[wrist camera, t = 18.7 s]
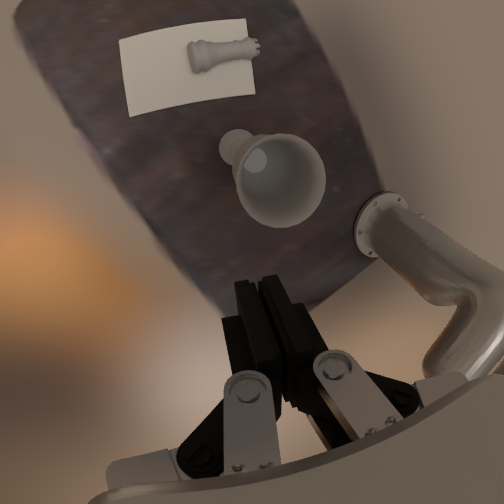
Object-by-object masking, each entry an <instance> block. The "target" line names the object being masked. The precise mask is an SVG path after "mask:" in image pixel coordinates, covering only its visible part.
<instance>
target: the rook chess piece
mask: <svg viewBox="0 0 504 504" xmlns="http://www.w3.org/2000/svg"><path fill="white" fill-rule="evenodd" d="M255 42H258V40H257V39H255V38H253V39H251V38H250V37H245V38H244V39H243V40H241V41H237V40H234V41H231V42H217V43H216V42H210V41H208V42H206V41H205V40H198V41H197V42H196V43H195V42H193V41H191V42H190V43H188V45H187V52H188V59H189V63H190V67H191V69H192V71H193V72H194V73H196V74H199V72H200V71H201V70H202V71H204V72H206V71H208V70H209V69H210V68H211V67H214V66H215V65H216V64H219V63H221V62H225V61H228V60H233V59H237V60H239V59H240V58H247V59H249V60H251V59H253V58H254V57H257V56H259V55H258V54H260V50H256V47H260V45H259V44H255Z"/></svg>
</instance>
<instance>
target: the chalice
mask: <svg viewBox="0 0 504 504" xmlns="http://www.w3.org/2000/svg"><path fill="white" fill-rule="evenodd" d="M219 152H220V155H221V157H222V159H223V160H224V161H225V162H226V163H228V164H229V165H232V174H233V177H234V180H235V183H236V184H237V193H238V196H239V199H240V202H241V204H242V206H243V207H244V208H245V210H246V211H247V213H248V214H249V215H250V216H251V217H252V218H254V219H255V220H256V221H258V222H259V223H261V224H263V225H267V226H270V227H273V228H288V227H290V226H293V225H296V224H299V223H301V222H303V221H304V220H305V219H307V218H308V217H309V216H311V215H312V213H313V212H314V211H315V210H316V208H317V207H318V206H319V204H320V202H321V199H322V197H323V194H324V192H325V182H326V175H325V170H324V164H323V162H322V160H321V158H320V156H319V154H318V152H317V151H316V150H315V149H314V148H313V147H312V146H311V145H310V144H309V143H308V142H307V141H305V140H303V139H301V138H299V137H297V136H295V135H290V134H280V133H278V134H274V135H266V134H260V135H256V136H253V135H252V134H250V133H249V132H248V131H245V130H242V129H235V130H231V131H229V132H228V133H226V134H225V135H224V136H223V137H222V139H221V141H220V144H219Z"/></svg>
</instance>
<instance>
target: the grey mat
mask: <svg viewBox="0 0 504 504" xmlns="http://www.w3.org/2000/svg"><path fill="white" fill-rule="evenodd" d="M245 37H248V33H247V26H246V19H232V20H219V21H210V22H201V23H194V24H187V25H181V26H176V27H170V28H165V29H160V30H156V31H151V32H147V33H143V34H139V35H135V36H132V37H128V38H125V39H121V40H119V45H120V55H121V63H122V71H123V79H124V86H125V92H126V99H127V105H128V111H129V117H133V116H136V115H140V114H144V113H148V112H152V111H156V110H160V109H164V108H169V107H174V106H178V105H183V104H188V103H194V102H199V101H205V100H211V99H218V98H225V97H233V96H241V95H250V94H255V87H254V79H253V71H252V63H251V60H249V59H247V58H240V59H239V60H237V59H233V60H228V61H225V62H221V63H219V64H216V65H215V66H214V67H211V68H210V69H209V70H208V71H206V72H204V71H202V70H201V71H200V72H199V74H196V73H194V72H193V71H192V69H191V67H190V63H189V59H188V52H187V45H188V43H190V42H191V41H193V42H195V43H196V42H197V41H198V40H205V41H206V42H208V41H210V42H216V43H217V42H231V41H234V40H237V41H241V40H243V39H244V38H245Z"/></svg>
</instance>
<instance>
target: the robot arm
mask: <svg viewBox="0 0 504 504" xmlns="http://www.w3.org/2000/svg"><path fill="white" fill-rule="evenodd" d="M354 240H355V244H356V246H357V248H358V249H359V250H360V251H361V252H362V253H363V254H365V255H366V256H368V257H381V258H382V259H383V260H384V261H385V262H386V263H387V264H388V265H389V266H390V267H392V268H393V269H394V270H395V271H396V272H397V273H398V274H399V275H400V276H401V277H402V278H403V279H404V280H405V281H406V282H407V283H409V284H410V285H411V286H412V287H413V288H414V289H415V290H416V291H417V292H418V293H419V294H420V295H421V296H422V297H423V298H424V299H425V300H426V301H427V302H429V303H431V304H433V305H436V306H452V305H457V309H456V311H455V313H454V314H453V316H452V318H451V320H450V321H449V323H448V324H447V326H446V327H445V328H444V330H443V331H442V332H441V334H440V335H439V336H438V338H437V339H436V341H435V342H434V343H433V345H432V346H431V347H430V349H429V350H428V351H427V353H426V355H425V357H424V359H423V363H422V371H423V374H424V377H425V378H426V379H423V380H419V381H415V382H414V384H411V385H410V384H407V383H405V382H401V381H398V380H394V379H391V378H387V377H384V376H381V375H377V374H374V373H371V372H368V371H364V370H363V369H362V368H361V366H360V365H359V364H358V363H357V362H356V360H354V358H353V357H352V356H351V355H349V354H348V353H346V352H344V351H341V350H328V348H327V346H326V344H325V342H324V340H323V339H322V337H321V335H320V333H319V331H318V329H317V328H316V326H315V324H314V322H313V320H312V318H311V317H310V315H309V313H308V311H307V309H306V308H305V306H304V304H303V303H296V304H292V303H291V301H290V299H289V297H288V295H287V293H286V291H285V289H284V287H283V285H282V284H281V282H280V280H279V278H278V276H277V275H276V274H275V275H270V276H265V277H262V281H258V291H257V288H256V285H255V283H254V282H252V283H249V280H242V281H237V282H234V285H235V293H236V300H237V307H238V315H237V316H231V317H226V318H221V319H222V324H223V330H224V335H225V340H226V345H227V350H228V355H229V360H230V365H231V370H232V376H231V377H230V378H229V379H228V380H227V382H226V383H225V386H224V398H223V399H222V400H221V402H220V403H219V404H218V405H217V406H216V407H215V408H214V409H213V410H212V412H211V413H210V414H209V415H208V416H207V417H206V418H205V419H204V420H203V421H202V423H201V424H200V425H199V426H198V427H197V428H196V429H195V430H194V431H193V432H192V433H191V434H190V435H189V436H188V438H187V439H186V440H185V441H184V442H183V443H182V444H181V445H180V447H178V448H175V449H172V450H168V449H163V450H160V451H156V452H152V453H148V454H144V455H139V456H135V457H130V458H126V459H120V460H117V461H114V462H112V463H111V464H110V465H109V466H108V468H107V470H106V480H107V484H108V488H109V490H108V491H106V492H103V493H101V494H99V495H97V496H95V497H94V498H93V499H91V500H90V501H89V502H88V504H504V360H503V361H502V362H501V364H500V365H499V366H498V367H497V368H496V369H495V371H494V372H493V373H492V374H491V375H487V374H488V373H489V372H490V371H491V369H492V368H493V367H494V366H495V364H496V363H497V362H498V361H499V360H500V359H501V357H502V356H503V355H504V271H502V270H500V269H499V268H497V267H495V266H493V265H491V264H490V263H488V262H486V261H485V260H483V259H481V258H480V257H478V256H477V255H475V254H474V253H472V252H471V251H469V250H468V249H467V248H465V247H464V246H462V245H461V244H459V243H458V242H456V241H455V240H454V239H452V238H451V237H449V236H448V235H446V234H445V233H443V232H442V231H440V230H439V229H437V228H436V227H434V226H433V225H431V224H430V223H428V222H426V221H425V216H424V214H418V215H416V214H414V213H413V212H411V211H410V210H409V207H408V204H407V202H406V200H405V199H404V198H403V197H402V196H400V195H399V194H397V193H394V192H390V191H386V192H381V193H379V194H376V195H375V196H373V197H372V198H371V199H369V200H368V201H367V202H366V203H365V205H364V206H363V207H362V209H361V210H360V212H359V214H358V216H357V218H356V222H355V225H354ZM258 292H259V293H258ZM282 395H283V398H284V400H285V402H288V401H290V403H291V405H292V408H294V407H297V408H298V410H299V411H301V412H303V413H306V416H307V418H308V420H309V422H310V423H311V425H312V426H313V428H314V430H315V431H316V433H317V435H318V436H319V438H320V440H321V441H322V443H323V444H324V446H325V448H326V449H327V451H326V452H324V453H320V454H318V455H314V456H311V457H308V458H304V459H301V460H298V461H294V462H290V463H286V464H283V465H281V458H280V451H279V442H278V435H277V426H276V422H277V420H278V419H279V417H280V416H281V402H282Z"/></svg>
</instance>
